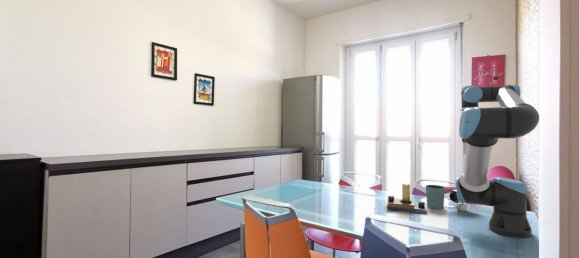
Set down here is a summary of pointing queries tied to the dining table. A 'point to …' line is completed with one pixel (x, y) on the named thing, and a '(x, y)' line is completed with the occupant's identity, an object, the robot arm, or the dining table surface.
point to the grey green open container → (435, 196)
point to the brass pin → (406, 193)
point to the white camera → (454, 198)
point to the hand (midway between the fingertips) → (469, 155)
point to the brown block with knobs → (405, 206)
